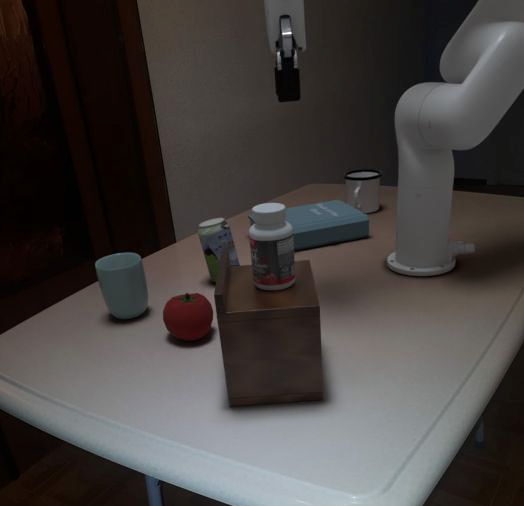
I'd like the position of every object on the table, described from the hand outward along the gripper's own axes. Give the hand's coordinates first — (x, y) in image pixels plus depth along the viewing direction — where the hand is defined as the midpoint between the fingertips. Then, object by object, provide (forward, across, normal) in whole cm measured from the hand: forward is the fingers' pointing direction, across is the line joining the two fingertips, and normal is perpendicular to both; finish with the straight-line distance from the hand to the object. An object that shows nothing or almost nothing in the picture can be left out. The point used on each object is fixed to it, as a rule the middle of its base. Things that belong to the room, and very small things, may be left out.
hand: (287, 97), depth 83 cm
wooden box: (+32, -25, +5) cm, 41 cm away
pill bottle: (+19, -25, +4) cm, 32 cm away
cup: (+32, -2, +30) cm, 44 cm away
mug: (+32, +49, -19) cm, 62 cm away
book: (+32, +32, -4) cm, 46 cm away
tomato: (+32, -12, +18) cm, 39 cm away
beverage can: (+32, +10, +14) cm, 37 cm away
